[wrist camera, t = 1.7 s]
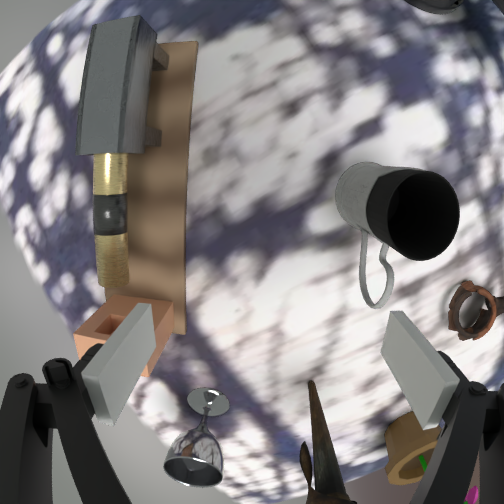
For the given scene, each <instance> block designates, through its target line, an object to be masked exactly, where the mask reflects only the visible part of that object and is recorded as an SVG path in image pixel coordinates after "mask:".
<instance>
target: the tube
mask: <svg viewBox="0 0 504 504" xmlns="http://www.w3.org/2000/svg"><path fill="white" fill-rule="evenodd" d="M127 173H128V153H103V154H94V168H93V224H94V235H95V251H96V263H97V274H98V283H99V285H100V286H102V287H106V288H117V287H122V286H125V285H127V284H128V283H129V282H130V274H129V257H128V192H127Z"/></svg>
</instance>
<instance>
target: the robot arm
mask: <svg viewBox="0 0 504 504" xmlns="http://www.w3.org/2000/svg"><path fill="white" fill-rule="evenodd" d="M405 1H407V2H408V3H410V4H412V5H414V6H415V7H417V8H420V9H422V10H424V11H427V12H430V13H435V14H447V13H450V12H452V11H453V10H455V9H456V8H458V7H459V6H460V5H461V4H462V2H463V0H405ZM492 1H493V2H494V3H495V5H496V6H497V7H498V8H499V10H500V11H501V12H502V14H503V15H504V0H492ZM155 348H156V340H155V333H154V325H153V316H152V307H151V304H148V303H138V304H137V305H136V306H135V307H134V308H133V310H132V311H131V312H130V313H129V314H128V316H127V317H126V318H125V319H124V320H123V322H122V323H121V324H120V325H119V326H118V328H117V329H116V330H115V331H114V332H113V334H112V335H111V336H110V337H109V339H108V340H107V341H106V342H105V344H101V343H97V344H95V345H93V346H92V347H90V348H89V349H88V350H87V351H86V353H85V355H83V356H82V357H81V360H79V361H78V362H77V363H76V365H75V366H74V367H72V364H71V362H70V361H69V360H67V359H64V358H55V359H52V360H49V361H48V362H46V363H45V364H44V366H43V368H42V371H43V374H44V377H45V379H46V382H47V384H40V383H39V384H38V383H35V381H34V379H33V377H32V376H31V375H29V374H26V373H22V374H17V375H15V376H13V377H12V378H11V379H10V380H9V382H8V385H7V389H6V392H5V395H4V398H3V402H2V405H1V409H0V504H53V501H52V438H53V428H56V429H58V431H59V435H60V439H61V442H62V446H63V449H64V453H65V455H66V459H67V462H68V465H69V468H70V471H71V474H72V477H73V479H74V482H75V485H76V487H77V490H78V492H79V495H80V497H81V500H82V502H83V504H132V503H131V501H130V499H129V497H128V496H127V494H126V492H125V490H124V488H123V486H122V485H121V483H120V481H119V479H118V477H117V475H116V473H115V471H114V469H113V467H112V465H111V463H110V461H109V459H108V457H107V455H106V452H105V450H104V448H103V446H102V444H101V441H100V439H99V437H98V434H97V432H96V430H95V427H94V425H93V422H92V420H91V419H92V417H93V415H94V414H96V417H97V419H98V422H100V423H104V424H108V425H112V426H114V425H115V423H116V421H117V419H118V417H119V415H120V413H121V412H122V410H123V408H124V406H125V404H126V402H127V400H128V398H129V396H130V394H131V392H132V391H133V389H134V387H135V385H136V383H137V381H138V379H139V377H140V376H141V374H142V372H143V370H144V368H145V366H146V364H147V363H148V361H149V359H150V357H151V355H152V353H153V352H154V350H155ZM381 354H382V356H383V358H384V359H385V361H386V363H387V365H388V366H389V368H390V370H391V372H392V373H393V375H394V377H395V379H396V380H397V382H398V384H399V386H400V388H401V390H402V391H403V393H404V395H405V397H406V399H407V401H408V402H409V404H410V406H411V408H412V410H413V412H414V414H415V415H416V417H417V419H418V421H419V423H420V425H421V427H422V429H423V430H426V429H430V428H435V427H437V426H438V424H439V422H440V420H441V418H443V420H444V421H445V424H444V426H443V428H442V430H441V432H440V433H439V435H438V437H437V439H436V440H438V442H437V444H436V447H435V449H434V452H433V454H432V457H431V459H430V461H429V464H428V466H427V468H426V471H425V473H424V475H423V477H422V479H421V481H420V484H419V486H418V488H417V490H416V492H415V494H414V496H413V498H412V500H411V501H410V504H463V503H464V500H465V497H466V494H467V491H468V488H469V485H470V481H471V478H472V474H473V471H474V467H475V463H476V459H477V455H478V451H479V460H480V500H479V504H504V383H503V384H502V385H501V387H500V389H499V391H488V390H487V388H486V387H485V386H484V385H483V384H481V383H479V382H474V381H471V382H469V380H468V379H467V378H466V377H465V375H464V374H463V373H462V372H461V371H460V369H459V368H457V366H456V364H455V363H453V361H452V360H451V359H450V357H449V356H448V355H446V354H445V353H443V352H442V351H436V350H435V348H434V347H433V346H432V345H431V344H430V342H429V341H428V340H427V339H426V338H425V336H424V335H423V334H422V333H421V332H420V331H419V329H418V328H417V327H416V326H415V325H414V324H413V323H412V321H411V320H410V319H409V318H408V317H407V316H406V315H405V313H404V312H403V311H390V315H389V320H388V324H387V329H386V333H385V337H384V341H383V345H382V349H381Z"/></svg>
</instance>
